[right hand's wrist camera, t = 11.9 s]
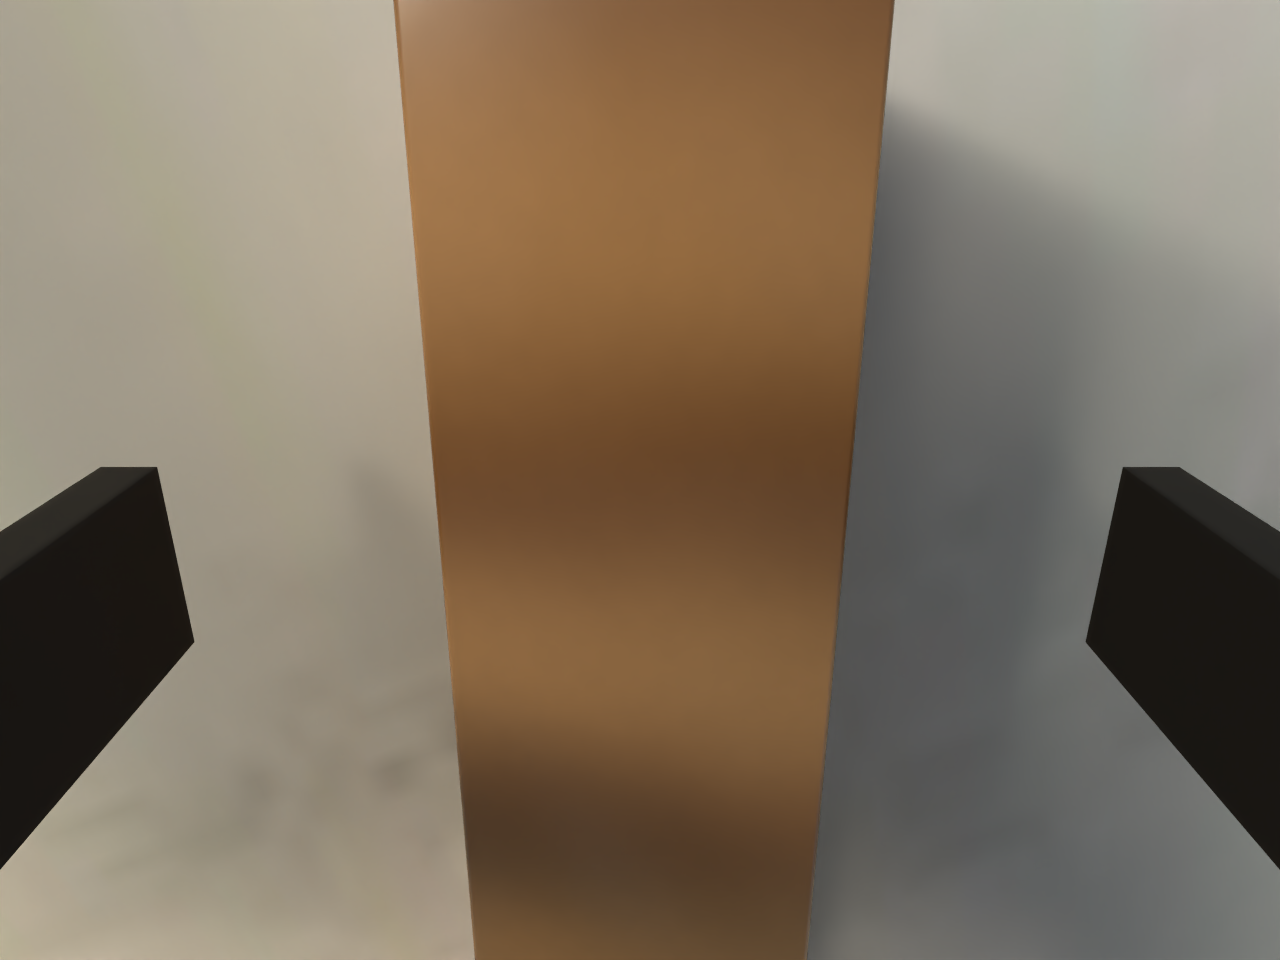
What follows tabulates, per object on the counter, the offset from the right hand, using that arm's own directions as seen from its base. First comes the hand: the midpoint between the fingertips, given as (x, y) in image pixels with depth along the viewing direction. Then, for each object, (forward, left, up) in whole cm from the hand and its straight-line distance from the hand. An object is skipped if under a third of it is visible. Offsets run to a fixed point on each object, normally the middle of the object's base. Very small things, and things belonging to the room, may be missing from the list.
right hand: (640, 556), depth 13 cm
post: (+10, -17, -6) cm, 21 cm away
